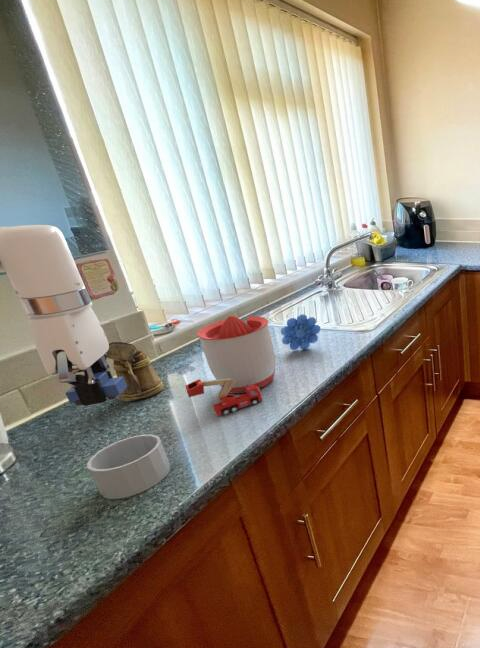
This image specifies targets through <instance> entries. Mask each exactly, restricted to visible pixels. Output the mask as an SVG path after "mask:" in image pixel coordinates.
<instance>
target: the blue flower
mask: <svg viewBox="0 0 480 648" xmlns="http://www.w3.org/2000/svg"><path fill="white" fill-rule="evenodd" d="M320 332H321V326H320V325H318V324H317V319H316V318H315V317H314V316H310V317H307V315H306V314H304V313H301V314H299V315H297V316H296V318H295V317H290V318H289V319H287V321H286V325H285V326H283V327H282V328H281V330H280V333H281V335H282V336H283V337H282V339H281V342H282V344H283V345H285V346H288V345H289V349H291V350H292V351H297V350H298V349H299V348H300V349H301V350H307V349H308V348H309V347H310V345H311V344H315V343H317V342H318V340H319V336H318V334H320Z"/></svg>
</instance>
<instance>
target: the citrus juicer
mask: <svg viewBox="0 0 480 648" xmlns="http://www.w3.org/2000/svg"><path fill="white" fill-rule="evenodd" d="M196 336H197V338H199V340H200V343H201V346H202V349H203V350H202V351H203V353H204V356H205V359H206V362H207V365H208V368H209V371H210V372H211V373H212V375H213V377H214V380H221V379H226V378H230V379H233V380H235V382H236V383H235V384H234V386H233V387H232V389H231V390H230V392H229V394H242V393H243V394H244V393H246V390H245V386H246V385H256V386H258V388H259V389H261V388H264V387H266V386H267V385H268V384H270V383H271V382H272V381H273V380H274V377H275V373H276V352H275V347H274V343H273V340H272V336H271V333H270V328H269V320H268V319H267V318H266V317H264V316H260V315H259V316H258V315H257V316H255V315H252V316H251V315H250V316H247V319H246V322H245V320H243V319H241V318H239V317H237V316H234V315H228V317H227V318H225V319H223V320H219V321H216V322H212V323H210V324H208V325H205V326H203V327H202V328H201V329H199V330H198V331H197V335H196ZM219 386H220V387H221V388H222V386H223V384H221V385H219Z"/></svg>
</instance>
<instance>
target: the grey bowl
mask: <svg viewBox="0 0 480 648" xmlns="http://www.w3.org/2000/svg"><path fill="white" fill-rule="evenodd" d="M86 467H87V470H88V473H89V475H90V476H91V478H92V481H93V483H94V485H95V486H96V488H97V490H98V493H99V494H100V495H101V496H102V497H103V498H104V499H107V500H120V499H125V498H129V497H132V496H133V497H134V496H135V495H138V494H141V493H143V492H145V491H148V490H149V489H151V488H152V487H155V486H156V485H158V484H159V483H160V482H161V481H162V480H164V479H165V478H166V477H167V476H168V474H169V473H170V471H171V469H172V466H171V461H170V459H169V457H168V455H167V451H166V449H165V447H164V445H163V442H162V440H161V437H160V436H158V435H156V434H139V435H133V436H130V437H126V438H124V439H120V440H117V441H115V442H113V443H111V444H109V445H107V446H105V447H103V448H101V449H100V450H99V451H97V452H96V453H95V454H93V455H92V456H91V457H90V458H89V460H88V461H87V462H86Z"/></svg>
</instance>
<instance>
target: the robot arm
mask: <svg viewBox="0 0 480 648" xmlns="http://www.w3.org/2000/svg"><path fill="white" fill-rule="evenodd" d="M4 272H5V273H6V275H7V277H8V279H9V281H10V284H11V285H12V287H13V290H14V291H15V293H16V296H17V297H18V300H19V302H20V304H21V306H22V308H23V310H24V312H25V314H26V316H27V318H28V322H29V329H30V333H31V336H32V339H33V342H34V345H35V348H36V350H37V351H36V352H37V353H38V355H39V359H40V360H41V362H42V365H43V367H44V370H45V371H46V373H47V374H48V375H50V376H54V375H58V376H57V377H58V382H59V383H62V384H69V386H70V388H74V389H75V391H76V393H77V395H78V397H79V399H80V401H81V404H82V405H81V406H84V407H85V406H92V405H97V404H102V403H106V401H107V399H108V398H107V397H106V396H105V394H104V392H103V389H102V387H101V385H100V383H99V381H96V382H95V378H94V376H93V373H98V372H105V371H106V372H107V374H108V377H109V379H110V378H114V377H113V375H112V373H111V370H110V364H109V363H108V360H107V359H108V358H107V357H106V353H107V351H108V349H109V344H110V343H109V340H108V338H107V336H106V333H105V331H104V328H103V326H102V324H101V322H100V321H99V318H98V317H97V315H96V313H95V312H94V310H93V308H92V306H93V302H92V300H91V298H90V294H89V293H88V290H87V287H86V286H85V283H84V281H83V278H82V276H81V274H80V271H79V269H78V267H77V264H76V262H75V260H74V257H73V254H72V253H71V250H70V247H69V245H68V243H67V241H66V238H65V235H64V234H63V232H62V231H61V230H60V229H59V228H58V227H57V226H54V225H50V224H25V225H14V226H4V225H3V226H0V273H4ZM76 366H77V367H76ZM76 373H77V374H76ZM78 373H83V374H78ZM83 375H85V376H83Z"/></svg>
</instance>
